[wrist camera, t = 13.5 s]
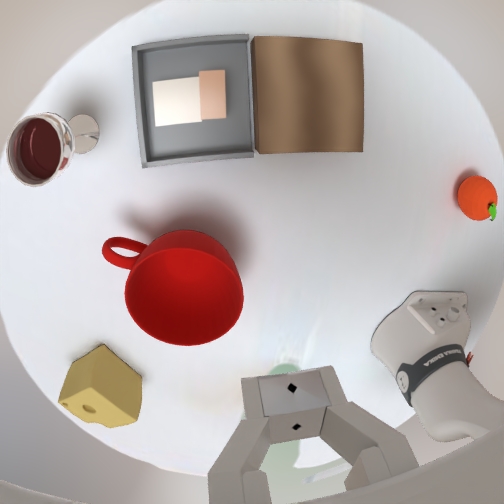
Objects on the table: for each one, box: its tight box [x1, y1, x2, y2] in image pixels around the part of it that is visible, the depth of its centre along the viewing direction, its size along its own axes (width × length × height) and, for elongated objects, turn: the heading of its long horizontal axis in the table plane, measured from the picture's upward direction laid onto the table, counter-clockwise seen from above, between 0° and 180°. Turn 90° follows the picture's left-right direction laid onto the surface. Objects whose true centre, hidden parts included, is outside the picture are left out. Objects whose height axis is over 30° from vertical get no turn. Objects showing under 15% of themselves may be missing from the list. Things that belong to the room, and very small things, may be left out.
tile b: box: [199, 70, 226, 120], centre depth 30 cm, size 5×5×2 cm
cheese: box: [58, 345, 142, 428], centre depth 46 cm, size 10×11×10 cm
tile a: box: [153, 77, 203, 126], centre depth 31 cm, size 5×5×2 cm
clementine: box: [458, 176, 497, 221], centre depth 39 cm, size 8×7×7 cm
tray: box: [132, 34, 254, 168], centre depth 32 cm, size 12×14×3 cm
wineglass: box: [6, 112, 99, 187], centre depth 27 cm, size 7×7×12 cm
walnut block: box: [250, 36, 364, 154], centre depth 32 cm, size 12×13×4 cm
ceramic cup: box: [102, 230, 244, 346], centre depth 37 cm, size 13×17×10 cm
